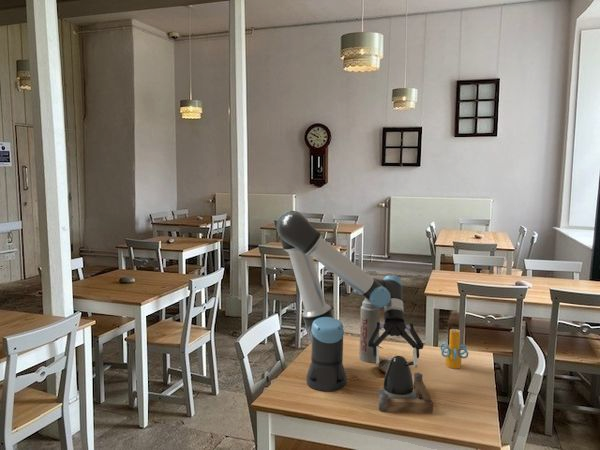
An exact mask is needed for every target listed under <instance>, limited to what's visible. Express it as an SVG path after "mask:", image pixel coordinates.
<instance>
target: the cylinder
mask: <svg viewBox="0 0 600 450" xmlns="http://www.w3.org/2000/svg"><path fill="white" fill-rule="evenodd" d="M460 341H461V330H460V329H455V328H451V329H449V341H448V342H449V343H446V342H443V343H441V344H440V351H441V356H442V357H444V358H445V367H447V368H449V369H455V370H457V369H461V367H462V359H467V358H468V357H469V351H468V350H467V346H466V345H465V344H460ZM443 346H444V347H443ZM445 350H446V351H445ZM461 351H462V352H461ZM463 355H465V356H463Z"/></svg>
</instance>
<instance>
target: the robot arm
mask: <svg viewBox="0 0 600 450" xmlns="http://www.w3.org/2000/svg"><path fill="white" fill-rule="evenodd" d="M275 228H276V231H277V234H278V236H279V239H280V243H281V247H282V249H283V251H285V252H287V254H288V257H289V260H290V263H291V266H292V271H293V274H294V277H295V280H296V284H297V287H298V292H299V294H300V297H301V298H300V299H301V300H302V304H303V308H304V310H303V312H302V314H301V315H302V318H303V321H304V325H305V326H304V327H305V328H304V329H305V331H306V333H307V335H308V337H309V340H310V342H311V359H310V360H311V362H310V364H309V367H308V371H307V374H306V377H305V381H306V382H305V383H306V384H307V386H308V387H310V388H312V389H315V390H318V391H323V392H324V391H325V392H333V391H339V390H342V389H344V388H345V387H346V386H347V384H348V382H347V381H348V377H347V373H346V369H345V367H344V363H343V360H344V359H343V355H344V333H345V330H344V325H343V323H342V322H341V321H340V319H338V318H337V319H336V318H335V317H334V314H333V310H332V307H331V305H330V304H327V303H326V300H325V295H324V293H323V289H322V285H321V282H320V278H319V276H318V275H319V274H318V272H317V267H316V265H315V260H316V261H317V262H319V264H321V265H323V266H324V267H325V269H327V270H329V271H330V272H331V273H333V274H334V275H335V276H337V277H338V278H339V279H340V280H342V281H343V282H344V283H346V284H347V285H348V286H350V287H351V288H352V290H353V292H354V294H355V295H357V296H358V295H359V296H361V297H363V298H364V299H365V298H366V299H367V300H368V301H370V302H371V304H373V305H374V306H376V307H379V308H380V309H381V308H383V312H384V313H383V317H384V319H383V320H384V323H381V322H380V323H379V322H377V326H376V329H375V331H374V333H373V335H372V337H371V338H370V340H369V342H368V346H369V347H372V348H373V356H376V362H375V363H376V365H375V366H376V367H379V365H380V351H379V350H380V349H379V348H380V345H381V343H382V342H383V341H384V340H385V339H386V338H388V336H390V337H401V338H403V339H404V340H405V341H406V342H407V343H408V344H409V345H410V346H411V347H412V348H413V351H412V356H413V362H414V364H413V368H417V367H418V359H419V358H420V350H423V349H424V347H425V345H424V343H423V341H422V340H421V337H420V336H419V335H418V333H417V331H416V330H415V327H414V323H409V324H406V323H405V313H404V311H405V310H404V301H403V300H404V299H403V295H404V294H403V290H404V288H403V283H402V279H401V278H400V277H399V276H397V275H394V274H392V275H390V274H388V275H386V276H385V277H383V279H379V278H374V277H372V276H371V275H369V274H368V273H367V272H365V271H364V269H362V268H361V267H359V266H358V265H357V264H356V263H354V262H353V261H352V260H350V259H349V258H348V257H347V256H346V255H345V254H343V253H342V252H340V251H339V250H338V249H337V248H336V247H334V246H333V245H331V244H330V242H328V241H327V240H326V239H324V238H323V237H322V233H321V232H320V231H318V229H317V228H315V226H314V225H312V224H311V222H310V221H309V220H308V219H307V218H306V217H305V216H304V215H303V214H302V213H300V212H299V211H296V210H290V211H289V210H288V211H285V212H284V213H282V214H281V215H280V216H279V217H278V219H277V220H276V226H275ZM314 259H315V260H314ZM382 328H383V329H384V331H383V333H382V334H381V335H379V338H378V339H377V340H376V342H375V343H373V342H374V340H375V338H376V336H377V334H378V332H379V333H380V330H382ZM406 329H407V331H409V333H410V335H411V336H410V335H409V334H408V333H407V331H406ZM378 345H379V346H378Z"/></svg>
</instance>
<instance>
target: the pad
mask: <svg viewBox="0 0 600 450" xmlns="http://www.w3.org/2000/svg"><path fill="white" fill-rule="evenodd" d="M377 392H378V395H379V394H382V393H384V394H386V393H385V390H384V389H377ZM388 398H389V397H388ZM408 399H418V396H417V393H416V391H415V390H413V392H412V394H411V396H410V397H409V398H408Z"/></svg>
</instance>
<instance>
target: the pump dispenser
mask: <svg viewBox="0 0 600 450" xmlns="http://www.w3.org/2000/svg"><path fill="white" fill-rule="evenodd" d="M410 366H414V361H408V360H407V359H406V358H405V357H404V356H402V355H395V356H394V357H392V358H391V360H390V362H389V363H388V366H387V368H386V370H385V374H384V379H383V385H382V386H383V390H385V393H386V394H387V395H388V397H389V398H396V399H408V398H409V397H410V396H411V394H412V392H413V391H414V378H413V374H412V371H411V367H410Z"/></svg>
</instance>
